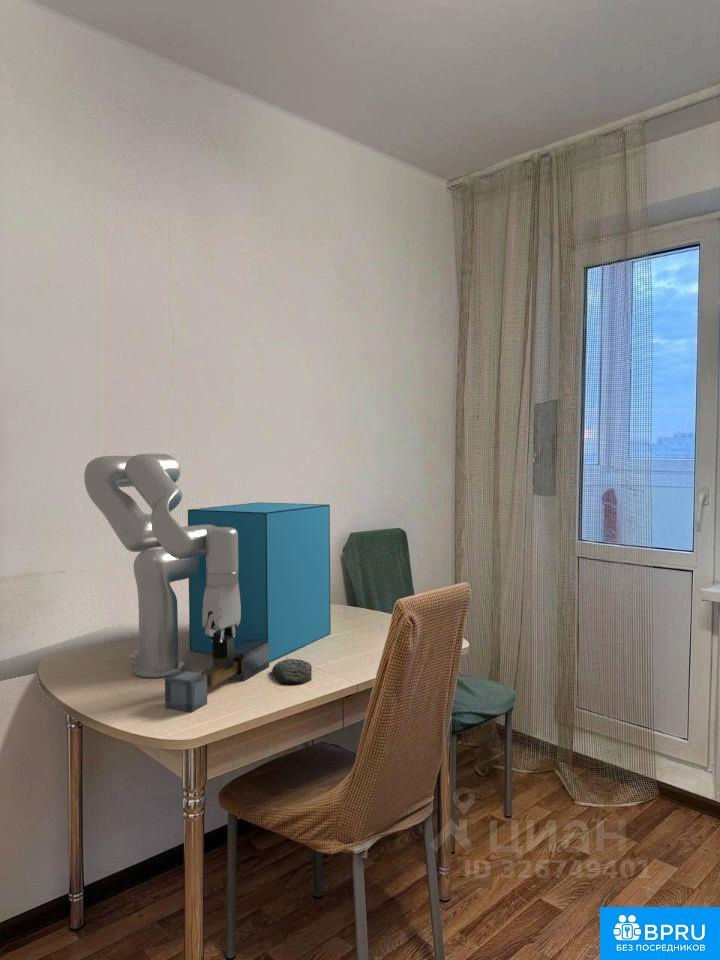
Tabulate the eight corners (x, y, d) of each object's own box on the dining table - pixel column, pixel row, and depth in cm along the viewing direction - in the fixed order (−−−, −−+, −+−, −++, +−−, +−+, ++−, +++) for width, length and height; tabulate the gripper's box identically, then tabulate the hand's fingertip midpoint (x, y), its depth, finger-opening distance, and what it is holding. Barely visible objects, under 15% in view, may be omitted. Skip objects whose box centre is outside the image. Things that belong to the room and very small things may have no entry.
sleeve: (224, 678, 165) (224, 652, 165) (250, 664, 176) (250, 639, 176) (244, 681, 163) (243, 654, 163) (269, 666, 174) (269, 641, 174)
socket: (165, 707, 146) (164, 678, 146) (181, 699, 151) (180, 670, 151) (191, 712, 143) (191, 682, 143) (207, 703, 148) (206, 674, 148)
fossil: (311, 669, 173) (311, 654, 173) (311, 686, 160) (311, 669, 160) (272, 670, 172) (272, 655, 172) (269, 687, 160) (269, 671, 159)
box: (330, 634, 207) (329, 504, 206) (267, 663, 177) (266, 512, 176) (259, 624, 219) (258, 502, 218) (189, 651, 189) (187, 509, 188)
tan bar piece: (199, 684, 155) (198, 644, 154) (250, 658, 175) (250, 622, 175) (213, 687, 153) (213, 645, 153) (263, 660, 173) (263, 623, 173)
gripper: (228, 573, 168) (229, 645, 169) (188, 584, 153) (189, 664, 154) (254, 574, 166) (255, 648, 166) (215, 586, 150) (217, 667, 151)
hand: (223, 655), depth 160 cm, fingers closed on tan bar piece, 3 cm apart
